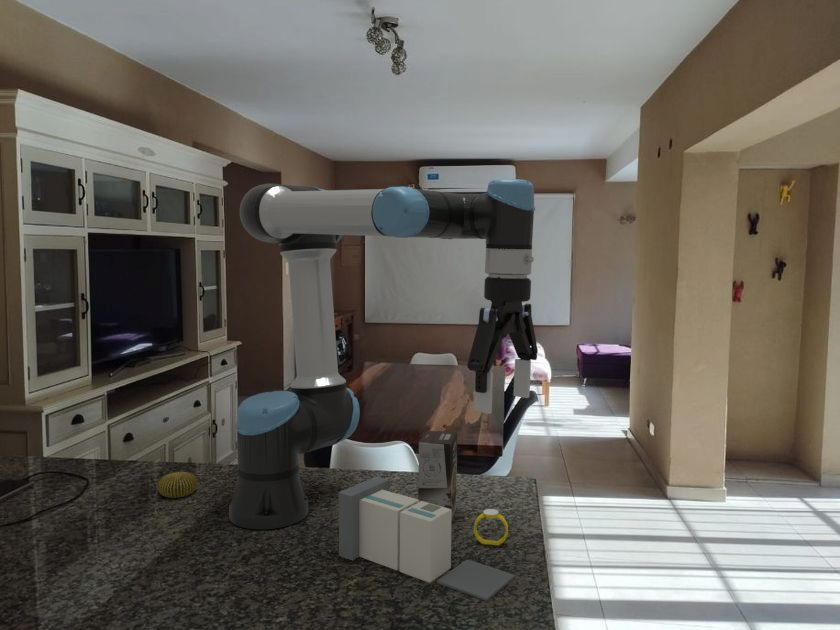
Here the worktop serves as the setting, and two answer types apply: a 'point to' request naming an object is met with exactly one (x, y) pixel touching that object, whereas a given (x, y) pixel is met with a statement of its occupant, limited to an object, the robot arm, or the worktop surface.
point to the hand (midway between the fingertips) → (503, 404)
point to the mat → (476, 579)
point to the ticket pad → (371, 522)
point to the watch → (491, 514)
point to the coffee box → (438, 469)
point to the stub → (425, 541)
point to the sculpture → (177, 484)
